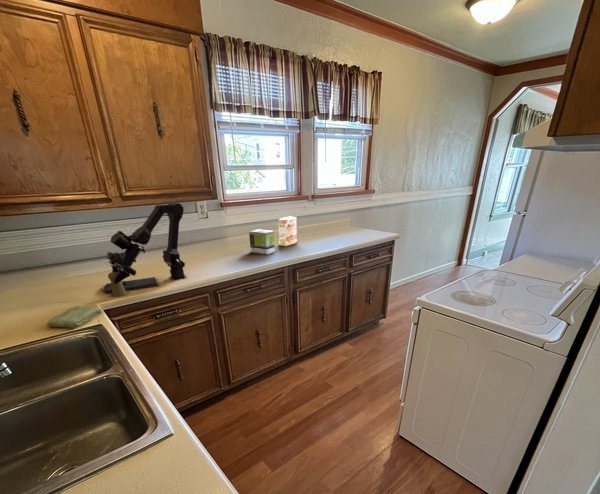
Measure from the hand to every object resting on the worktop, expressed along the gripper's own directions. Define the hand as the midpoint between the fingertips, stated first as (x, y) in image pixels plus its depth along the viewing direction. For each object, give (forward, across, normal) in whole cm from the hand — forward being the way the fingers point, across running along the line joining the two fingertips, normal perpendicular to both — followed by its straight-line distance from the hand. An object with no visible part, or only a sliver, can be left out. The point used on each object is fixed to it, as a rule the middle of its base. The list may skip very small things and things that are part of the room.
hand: (112, 282), depth 157 cm
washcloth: (+21, +17, -11) cm, 29 cm away
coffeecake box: (-91, -16, +100) cm, 136 cm away
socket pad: (-3, -7, +12) cm, 14 cm away
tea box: (-69, -11, +79) cm, 105 cm away
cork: (+4, 0, +6) cm, 7 cm away
